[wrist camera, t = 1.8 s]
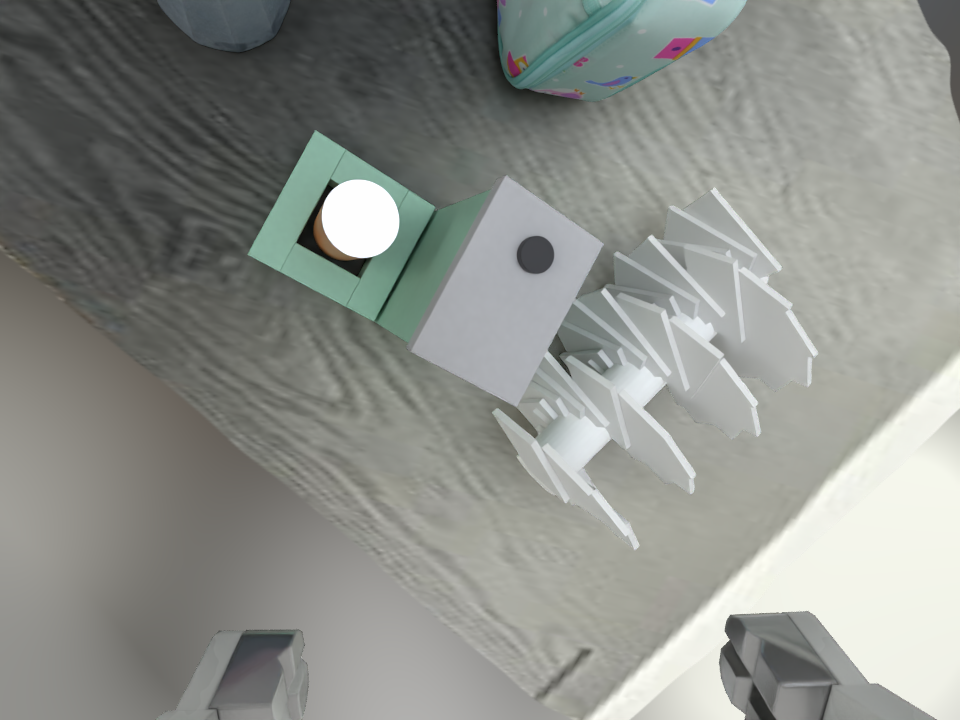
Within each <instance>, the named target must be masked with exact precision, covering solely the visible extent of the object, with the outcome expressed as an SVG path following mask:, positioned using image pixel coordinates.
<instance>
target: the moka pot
mask: <svg viewBox="0 0 960 720" xmlns="http://www.w3.org/2000/svg"><path fill="white" fill-rule="evenodd" d="M290 1H291V0H158V3H159V6H160V8H161V9H162V10H163V11H164V12H165V14H166V15H167V16H168V17H169V18H170V19H171V20H172V21H173V22H174V23H175V24H176V25H177V26H178V27H179V28H180V29H181V30H182V31H183V32H184V33H185V34H187V35H188V36H189V37H190V38H191V39H192V40H193V41H195V42H197V43H199V44H201V45H205V46H208V47H211V48H214V49H219V50H224V51H231V52H242V51H247V50H250V49H252V48H254V47H257V46H259V45H262V44H263V43H265V42H267V41H269V40H271V39H272V38H273V37H275V35H276V34H277V32H278V30H279V28H280V26H281V24H282V22H283V19H284V17H285V15H286V13H287V10H288V7H289V4H290Z"/></svg>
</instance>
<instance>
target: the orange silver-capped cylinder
mask: <svg viewBox="0 0 960 720" xmlns="http://www.w3.org/2000/svg"><path fill="white" fill-rule="evenodd" d="M398 229H399V213H398V209H397V206H396V204H395V202H394V200H393V198H392V197H391V196H390V194H389V193H388V192H387V191H386V190H385V189H384V188H382V187H381V186H379V185H377V184H376V183H373V182H371V181H367V180H361V179H357V180H349V181H346V182H343V183H341V184H339V185H338V186H336V187H335V188H334V189H333V190H332V191H331V192H330V193H329V195H328V196H327V198H326V200H325V201H324V203H323V205H322V207H321V209H320V211H319V213H318V215H317V217H316V219H315V222H314V226H313V235H314V239H315V242H316V244H317V246H318V247H319V249H320V250H321V251H322V252H323V253H324V254H325V255H327V256H328V257H330V258H332V259H335V260H340V261H347V260H355V259H363V258H369V257H374V256H377V255H379V254H381V253H382V252H384V251H385V250H387V249H388V248H389V247H390V246H391V244H392V243H393V242H394V240H395V238H396V236H397V233H398Z"/></svg>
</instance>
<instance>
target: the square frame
mask: <svg viewBox="0 0 960 720" xmlns="http://www.w3.org/2000/svg"><path fill="white" fill-rule="evenodd" d="M357 179H361V180H367V181H371V182H373V183H376V184H377V185H379V186H381V187H382V188H384V189H385V190H386V191H387V192H388V193H389V194H390V196H391V197H392V198H393V200H394V202H395V204H396V206H397V209H398V213H399V229H398V233H397V236H396V238H395V240H394V242H393V243H392V244H391V246H390V247H389V248H388V249H387V250H385V251H384V252H382V253H381V254H379V255H377V256H374V257H369V258H367V260H366V261H365V263H364V265H363V267H362V269H361V271H360V273H359V274H358V276H355V275H353V274H352V273H350V272H348V271H346V270H344V269H343V268H341V267H339V266H337V265H335V264H334V263H332V262H330V261H328V260H326V259H325V258H323V257H321V256H319V255H317V254H316V253H314V252H312V251H310V250H308V249H307V248H305V247H303V246H301V245H299V244H298V243H296V242H297V240H298V238H299V236H300V235H301V233H302V231H303V229H304V227H305V225H306V224H307V222H308V220H309V218H310V216H311V214H312V213H313V211H314V209H315V207H316V205H317V203H318V202H319V200H320V198H321V196H322V194H323V192H324V191H325V189H326V187H327V185H329V186H331V187H333V188H335V187H336V186H338V185H339V184H341V183H343V182H346V181H349V180H357ZM434 210H435V206H433V205H432V204H430V203H429V202H427V201H425V200H424V199H422V198H421V197H419V196H418V195H416V194H414V193H413V192H411V191H410V190H409V191H408V189H407V188H405V187H404V186H402V185H401V184H399V183H397V182H396V181H394V180H393V179H391V178H390V177H388V176H386V175H385V174H383V173H382V172H380V171H379V170H377V169H376V168H374V167H372V166H371V165H369V164H368V163H366V162H365V161H363V160H362V159H360V158H358V157H357V156H355V155H354V154H352V153H351V152H349V151H347V150H346V149H344V148H343V147H341V146H340V145H338V144H336V143H335V142H333V141H332V140H330V139H329V138H327V137H326V136H324V135H322V134H321V133H319V132H318V131H316V130H315V131H314V133H313V135H312V137H311V139H310V141H309V142H308V144H307V146H306V148H305V150H304V152H303V153H302V155H301V157H300V159H299V161H298V163H297V164H296V166H295V168H294V170H293V172H292V174H291V175H290V177H289V179H288V181H287V183H286V185H285V186H284V188H283V190H282V192H281V194H280V196H279V197H278V199H277V201H276V203H275V205H274V207H273V208H272V210H271V212H270V214H269V216H268V218H267V219H266V221H265V223H264V225H263V227H262V229H261V230H260V232H259V234H258V236H257V238H256V240H255V241H254V243H253V245H252V247H251V249H250V251H249V252H248V255H249V256H251V257H253V258H255V259H256V260H258V261H260V262H262V263H264V264H266V265H268V266H270V267H272V268H273V269H275V270H277V271H280V272H281V273H283V274H285V275H287V276H289V277H290V278H292V279H294V280H296V281H298V282H300V283H302V284H304V285H305V286H307V287H309V288H311V289H313V290H315V291H317V292H319V293H321V294H322V295H324V296H326V297H328V298H330V299H332V300H334V301H336V302H338V303H339V304H341V305H343V306H345V307H347V308H349V309H351V310H353V311H355V312H356V313H358V314H360V315H362V316H364V317H366V318H368V319H370V320H371V321H375V319H376V317H377V315H378V313H379V312H380V310H381V308H382V306H383V304H384V302H385V300H386V299H387V297H388V295H389V293H390V291H391V289H392V287H393V286H394V284H395V282H396V280H397V278H398V276H399V275H400V273H401V271H402V269H403V267H404V265H405V263H406V262H407V260H408V258H409V256H410V254H411V252H412V250H413V249H414V247H415V245H416V243H417V241H418V239H419V238H420V236H421V234H422V232H423V230H424V228H425V226H426V225H427V223H428V221H429V219H430V217H431V215H432V213H433V212H434Z"/></svg>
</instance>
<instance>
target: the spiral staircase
mask: <svg viewBox="0 0 960 720" xmlns="http://www.w3.org/2000/svg"><path fill="white" fill-rule="evenodd" d="M613 258H614V277H615V285H612V284H606V285H605V286H604V288H602V289H599V290H596V291H593V292H590V293H587V294H584V295H581V296H580V297H579V298H578V299H576V298H575V299H574V301H573V303H572V305H571V307H570V309H569V311H568V312H567V314H566V316H565V318H564V320H563V322H562V324H561V326H560V327H559V329H558V331H557V334H558V336H559V338H560V340H561V342H562V344H563V346H564V348H565V350H566V351H568V352H566V353H562V354H561V355H560V356H559V357H560V358H561V360H562V361H563V362H564V363H565V364H566V366H567V367H568V368H569V371H570V374H571V377H572V378H571V377H570V376H569V375H568V374H567V372H566V371H565V370H564V369H563V368H562V367H561V365H560V364H559V363H558V362H557V361H556V360H555V358H554V357H553V356H552V355H551V354H550V353H549V351H548V350H547V352H546V354H545V355H544V357H543V359H542V361H541V363H540V365H539V367H538V369H537V370H536V372H535V374H534V376H533V378H532V380H531V382H530V383H529V385H528V387H527V389H526V391H525V393H524V395H523V397H522V398H521V400H520V402H519V404H518V406H517V408H518V409H519V410H520V412H521V413H522V414H523V415H524V416H525V417H526V419H527V420H528V421H529V422H530V423H531V424H532V425H533V427H534V428H535V429H536V431H537V432H538V436H537V437H536V438H534V437H532V436H531V435H530V434H529V433H527V432H526V431H525V430H524V429H523V428H521V427H520V426H519V425H518V424H517V423H515V422H514V421H513V420H512V419H511V418H509V417H508V416H507V415H506V414H504V413H503V412H502V411H501V410H500V409H498V408H496V409H495V410H494V411H493V412H492V413H493V415H494V416H495V418H496V419H497V421H498V423H499V424H500V426H501V427H502V429H503V430H504V432H505V433H506V435H507V437H508V438H509V440H510V441H511V443H512V444H513V446H514V448H515V449H516V451H517V452H518V455H517V458H518V460H519V461H520V463H521V464H522V466H523V467H524V468H525V469H526V470H527V472H528V473H529V474H530V475H531V476H532V477H533V478H534V479H535V480H536V481H537V482H538V483H539V484H540V485H541V486H542V487H543V488H544V489H545V490H546V491H548V492H549V493H550V494H552V495H557V496H558V497H559V498H560V499H561V500H562V501H563V502H564V503H565V504H566V503H567V502H569V503H570V504H571V505H572V506H574V505H575V504H576V505H577V506H579V507H580V508H582V509H583V510H585V511H587V512H588V513H590V514H591V515H593V516H594V517H596V518H597V519H599V520H600V521H602V522H603V523H604V524H605V525H606V526H607V527H608V528H609V529H610V530H611V531H612V532H613V533H614V534H615V535H616V536H617V537H620V538H621V539H622V540H623V541H625V542H626V543H627V544H628V545H629V546H630V547H631V548H633V549H634V550H636V549H637V548H638V547H639V543H638V541H637V539H636V537H635V534H634V532H633V530H632V528H631V525H630V523H629V522H628V521H627V520H626V519H625V518H624V517H622V516H621V515H620V514H619V513H618V512H616V511H615V510H614V509H613V508H612V507H611V506H610V505H609V504H608V502H607V501H606V500H605V499H604V497H603V496H602V495H601V494H600V492H599V491H598V490H597V488H596V487H595V485H594V484H593V482H592V480H591V479H590V477H589V476H588V474H587V472H586V471H585V469H584V468H583V466H584V465H585V464H586V463H587V462H588V461H590V460H591V459H592V458H593V457H594V456H595V455H596V454H597V453H598V452H599V451H600V450H601V449H602V448H603V447H604V446H605V445H606V444H607V443H608V442H609V441H610V440H611V439H613V440H614V441H616V442H617V443H618V444H619V446H620V447H621V448H622V449H625V450H626V451H627V452H628V453H629V455H630V456H631V457H632V458H634V459H636V460H638V461H640V462H642V463H645V464H646V465H647V466H648V467H649V468H650V469H651V470H652V471H653V472H654V473H655V474H656V475H657V476H658V477H659V478H660V479H661V480H662V481H663V482H664V483H665V484H670V483H675V484H677V485H678V486H679V487H681V488H682V489H683V490H685V491H686V492H687V493H689V494H690V495H691V494H692V493H693V492H694V491H695V488H694V477H695V476H696V473H695V472H694V470H693V468H692V466H691V465H690V464H689V463H688V461H687V460H686V458H685V457H684V455H683V454H682V452H681V451H680V449H679V448H678V446H677V445H676V443H675V442H674V441H673V439H672V438H671V436H670V434H669V433H668V432H667V431H666V430H665V429H664V428H663V427H662V426H661V425H660V424H659V423H658V422H657V421H656V420H655V419H654V418H653V417H652V416H651V415H650V414H649V413H647V412H646V411H645V410H644V409H643V407H644V406H645V405H646V404H647V403H648V402H649V401H650V400H651V399H652V398H653V397H654V396H655V395H656V394H657V393H658V392H659V391H660V390H661V389H662V388H663V387H664V386H665V385H666V386H667V387H668V389H669V391H670V393H671V395H672V397H673V398H674V400H675V402H676V404H677V405H680V406H682V407H684V408H685V410H686V411H687V412H688V413H689V415H690V416H691V417H692V419H693V420H694V421H695V422H696V423H703V424H710V425H715V426H716V427H717V428H719V429H720V430H721V431H722V432H723V433H725V434H726V435H727V436H728V437H729V438H731V439H732V440H733V439H734V438H735V437H736V436H737V435H738V434H740V433H741V432H742V431H743V430H744V431H746V432H748V433H750V434H752V435H754V436H756V437H758V435H759V434H760V433H761V429H760V424H759V419H758V415H757V410H756V405H757V404H758V402H757V400H756V399H755V398H754V396H753V395H752V394H751V392H750V391H749V390H748V388H747V387H746V386H745V384H744V383H743V382H742V380H741V379H740V378H739V377H747V378H757V379H760V380H761V381H763V382H764V383H765V384H766V385H767V386H769V387H770V388H771V389H772V390H773V391H775V392H776V391H778V390H779V389H781V388H782V387H784V386H785V385H787V384H788V383H790V382H791V381H794V382H796V383H798V384H801V385H803V386H805V387H808V386H809V385H810V384H811V370H812V358H814V357H815V356H816V355H817V354H818V352H817V350H816V349H815V347H814V345H813V344H812V342H811V341H810V339H809V337H808V336H807V334H806V333H805V331H804V330H803V328H802V326H801V325H800V323H799V322H798V320H797V319H796V317H795V315H794V314H793V312H792V311H791V309H790V308H791V307H792V306H793V304H792V303H790V302H789V301H788V300H787V299H785V298H784V297H783V296H781V295H780V294H779V293H777V292H776V291H775V290H774V289H772V288H771V287H770V286H768V285H767V283H768V279H769V277H768V275H771V274H774V273H776V272H779V271H780V270H781V269H782V266H781V265H780V264H779V263H778V262H777V260H776V259H775V258H774V257H773V256H772V255H771V253H770V252H769V251H768V250H767V249H766V247H765V246H764V245H763V244H762V243H761V242H760V240H759V239H758V238H757V237H756V236H755V235H754V233H753V232H752V231H751V230H750V229H749V227H748V226H747V225H746V224H745V223H744V222H743V220H742V219H741V218H740V217H739V216H738V215H737V213H736V212H735V211H734V210H733V209H732V207H731V206H730V205H729V204H728V203H727V202H726V200H725V199H724V198H723V197H722V196H721V194H720V193H719V192H718V191H717V190H716V189H715V187H714V188H713V189H711V190H710V191H708V192H707V193H706V194H704V195H703V196H701V197H700V198H698V199H697V200H696V201H694V202H693V203H691V204H690V205H688V206H687V207H686V208H685V209H683V210H680V209H679V208H677V207H675V206H673V205H671V206H670V207H669V208H668V213H667V219H666V225H665V232H664V238H663V240H661V239H656V238H655V237H654V236H653V235H650V236H649V237H648V238H647V239H646V240H645V241H644V242H643V243H642V244H641V245H639V246H638V247H637V248H636V249H635V250H634V251H633V252H632V253H631V254H630V255H628V256H625V255H623V254H622V253H620V252H618V251H617V252H616V253H614V254H613Z"/></svg>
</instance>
